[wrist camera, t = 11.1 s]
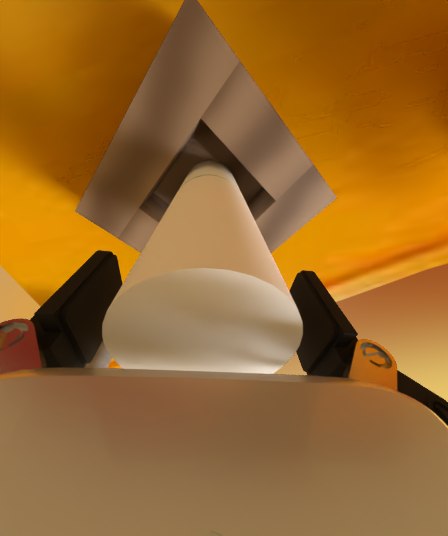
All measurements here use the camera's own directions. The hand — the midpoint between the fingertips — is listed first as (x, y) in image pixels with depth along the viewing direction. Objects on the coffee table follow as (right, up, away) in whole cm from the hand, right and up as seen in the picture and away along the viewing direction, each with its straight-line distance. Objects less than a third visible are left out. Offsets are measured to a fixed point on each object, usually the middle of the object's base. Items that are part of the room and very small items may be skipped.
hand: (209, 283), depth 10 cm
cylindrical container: (-1, +12, +18) cm, 21 cm away
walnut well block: (-1, +13, +18) cm, 22 cm away
